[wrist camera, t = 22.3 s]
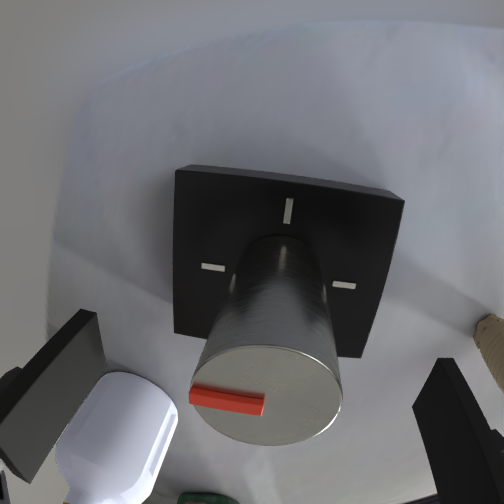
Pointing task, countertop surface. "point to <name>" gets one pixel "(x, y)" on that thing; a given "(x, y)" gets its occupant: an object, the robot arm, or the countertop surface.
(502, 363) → the handle
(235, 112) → the countertop surface
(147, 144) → the countertop surface
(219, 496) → the coffee jar
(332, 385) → the dial
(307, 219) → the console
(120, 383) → the soap bottle
